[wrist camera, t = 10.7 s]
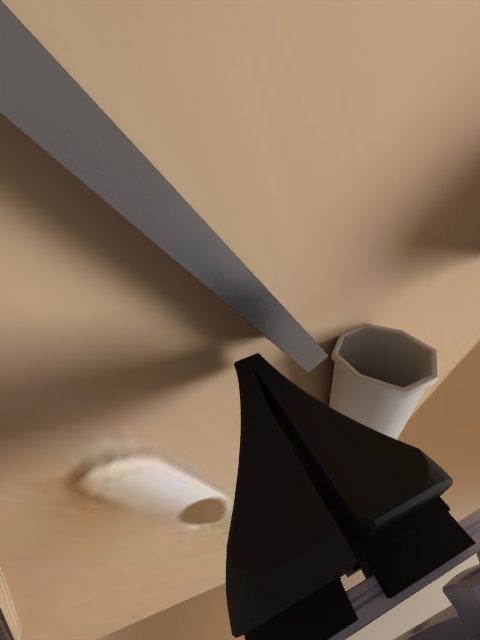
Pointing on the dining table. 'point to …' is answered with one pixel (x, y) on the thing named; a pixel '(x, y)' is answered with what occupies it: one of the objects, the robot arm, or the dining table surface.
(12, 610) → the hardcover book
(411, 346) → the tube
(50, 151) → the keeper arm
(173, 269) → the dining table surface
